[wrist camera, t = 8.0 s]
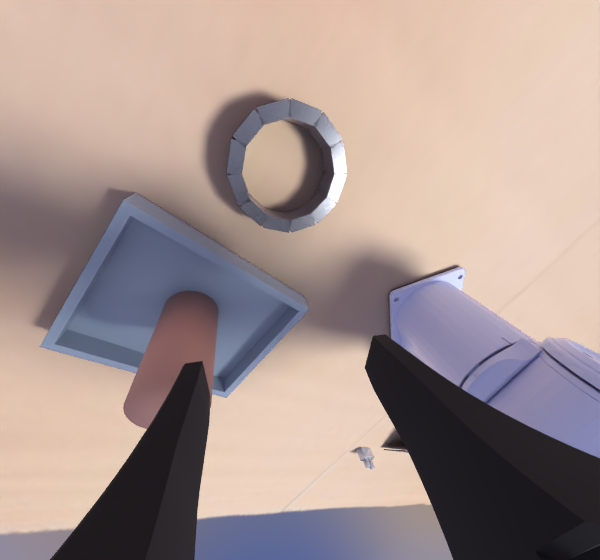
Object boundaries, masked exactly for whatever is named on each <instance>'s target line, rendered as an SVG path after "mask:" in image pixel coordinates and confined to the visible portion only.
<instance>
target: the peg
mask: <svg viewBox="0 0 600 560" xmlns="http://www.w3.org/2000/svg"><path fill="white" fill-rule="evenodd" d="M217 325H218V307H217V304H216V303H215V301H214V300H213V299H212V298H211V297H209V296H208V295H206V294H204V293H201V292H197V291H183V292H179V293H176V294H174V295H173V296H171V297H170V298H169V299H168V300H167V301H166V303H165V305H164V307H163V309H162V312H161V314H160V317H159V319H158V322H157V324H156V327H155V329H154V332H153V334H152V336H151V339H150V341H149V344H148V346H147V349H146V351H145V354H144V356H143V358H142V361H141V363H140V366H139V368H138V371H137V373H136V376H135V378H134V381H133V383H132V385H131V388H130V390H129V393H128V395H127V398H126V400H125V403H124V407H123V408H124V413H125V415H126V417H127V418H128V419H129V420H130V421H131V422H132V423H134V424H136V425H138V426H140V427H143V428H146V429H148V427H149V426H150V424H151V422H152V421H153V419H154V417H155V416H156V414H157V412H158V411H159V409H160V407H161V406H162V404H163V402H164V401H165V399H166V397H167V395H168V394H169V392H170V390H171V388H172V386H173V384H174V383H175V381H176V379H177V377H178V375H179V373H180V371H181V369H182V367H183V365H184V364H185V363H191V362H198V361H203V365H204V369H205V374H206V378H207V382H208V387H209V391H210V407H211V399H212V387H213V374H214V362H215V349H216V337H217Z"/></svg>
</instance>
